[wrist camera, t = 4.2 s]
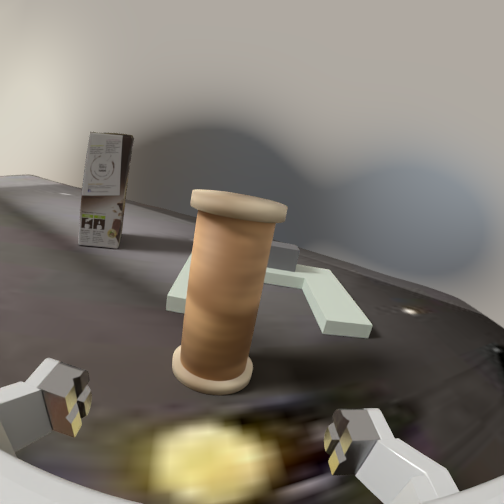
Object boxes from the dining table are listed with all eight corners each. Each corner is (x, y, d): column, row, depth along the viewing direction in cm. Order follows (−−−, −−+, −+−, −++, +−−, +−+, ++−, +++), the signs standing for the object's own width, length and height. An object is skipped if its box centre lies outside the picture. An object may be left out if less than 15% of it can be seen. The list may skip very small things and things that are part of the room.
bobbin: (250, 354, 25) (281, 201, 22) (251, 400, 19) (294, 213, 16) (179, 343, 24) (199, 187, 21) (165, 386, 19) (184, 194, 16)
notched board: (327, 279, 48) (334, 250, 47) (368, 338, 31) (381, 297, 29) (193, 257, 47) (197, 226, 45) (166, 310, 29) (170, 264, 28)
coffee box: (119, 249, 44) (133, 134, 40) (77, 245, 41) (88, 130, 37) (123, 233, 52) (135, 137, 48) (86, 230, 49) (97, 134, 45)
